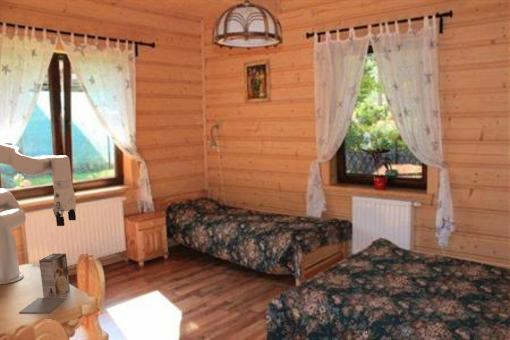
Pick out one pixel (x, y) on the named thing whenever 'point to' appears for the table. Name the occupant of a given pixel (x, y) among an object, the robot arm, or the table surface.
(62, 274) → the coffee box
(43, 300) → the mat
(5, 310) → the table surface
